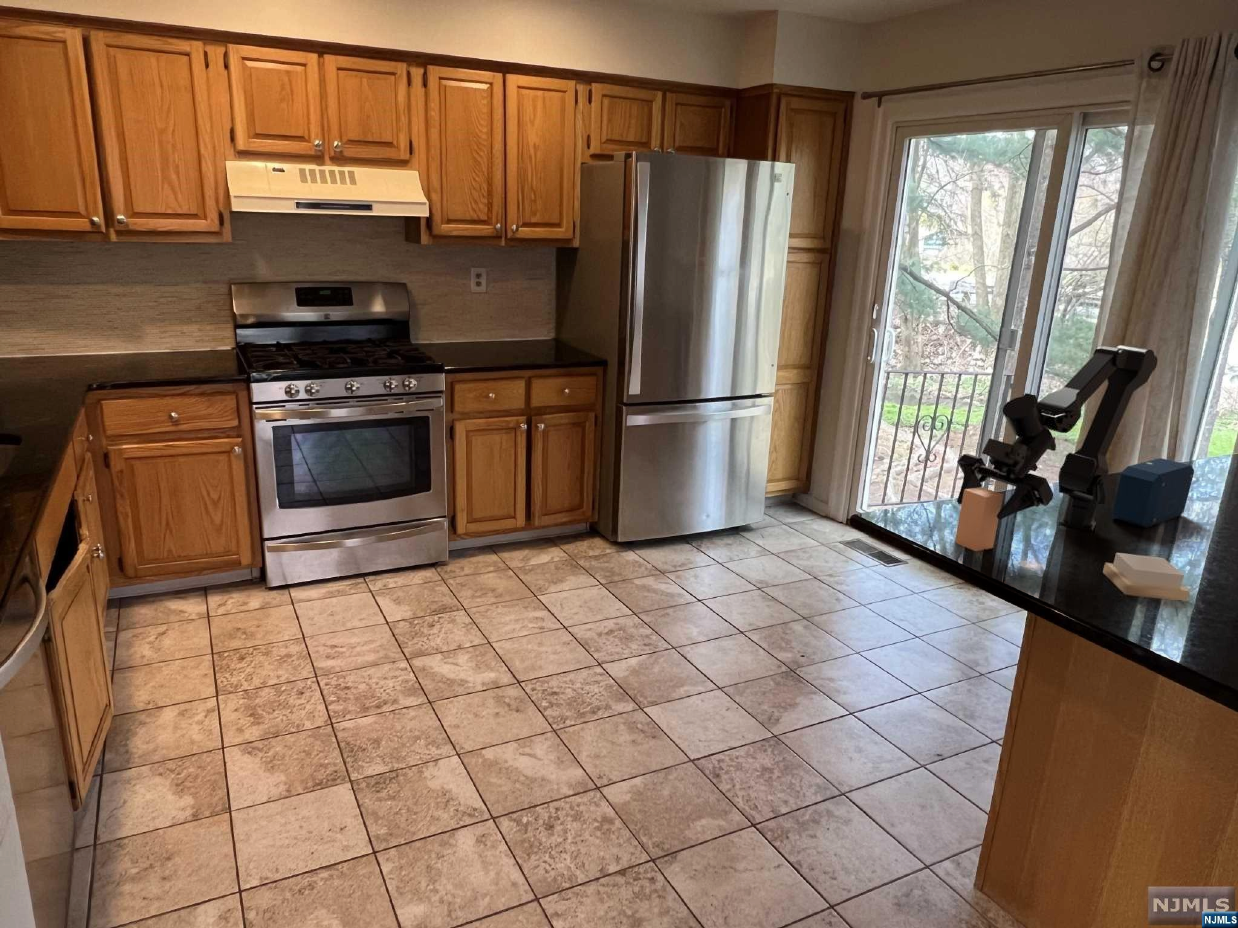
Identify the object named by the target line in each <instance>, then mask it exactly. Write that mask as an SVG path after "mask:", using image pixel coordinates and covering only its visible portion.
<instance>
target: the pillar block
mask: <svg viewBox="0 0 1238 928" xmlns="http://www.w3.org/2000/svg"><path fill="white" fill-rule="evenodd" d="M1003 498H1004V494H1003V493H1000V492H997V491H994V490H992V489H989V488H986V487H983V486H982V487H978V488H971V489H964V494H963V499H962V504H960V505H961V506H960V511H959V512H960V513H959V517H958V523H957V527H956V533H955V539H954V543H955V544H958V545H960V546H962V547H965V548H967V549H969V550H972V551H973V552H974V551H975V552H979V551H985V550H990V549H993V548H994V545H995V540H996V533H997V528H998V523H999V519H998V518H997V514H998V513H999V511H1000V510H1001V508H1002V503H1003ZM984 549H985V550H984Z"/></svg>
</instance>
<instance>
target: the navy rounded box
mask: <svg viewBox="0 0 1238 928" xmlns="http://www.w3.org/2000/svg"><path fill="white" fill-rule="evenodd" d="M1179 432H1180V429H1177V433H1176V437H1175V440H1174V441H1175V442H1174V444H1173V449H1172V452H1171V456H1170V459H1165V458H1161V457H1158V458H1155V459H1152V460H1147V461H1144V462H1140V463H1135V464H1131V465H1128V466H1126V467H1125V468H1124V469H1123V470H1121V475H1120V477H1119V482H1118V486H1117V491H1116V496H1115V500H1114V503H1113V506H1112V507H1113V508H1112V512H1111V516H1112V517H1113V518H1114V519H1115V520H1117V519H1118V521H1121V520H1122V522H1124V521H1125V523H1129V524H1131V523H1132V524H1131V525H1134V524H1135V525H1134V526H1138V525H1139V526H1138V527H1141V526H1142V527H1141V528H1144V527H1145V528H1144V529H1147V528H1150V527H1153V526H1156V525H1158V523H1159V524H1161V523H1164V522H1167V521H1169V520H1172V519H1175V518H1178V517H1179V516H1181V515H1182V514H1184V512H1185V509H1186V505H1187V500H1188V498H1189V493H1190V489H1191V486H1192V483H1193V477H1194V475H1195V469H1194V468H1193V466H1192V465H1191V464H1186V463H1182V462H1178V461H1174V460H1173V457H1174V451H1175V449H1176V444H1177V440H1178V435H1179ZM1166 520H1167V521H1166ZM1155 524H1156V525H1155ZM1152 525H1153V526H1152ZM1149 526H1150V527H1149Z"/></svg>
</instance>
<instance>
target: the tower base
mask: <svg viewBox="0 0 1238 928" xmlns="http://www.w3.org/2000/svg"><path fill="white" fill-rule="evenodd" d="M1113 564H1114V562H1113V563H1112V562H1105V563H1104V566H1103V570H1102V573H1103V574H1104V575H1105V576H1106V578H1107V579H1109V580H1110V581H1111V583H1113V584H1114V585H1115V586H1116V587H1117V588H1118V589H1119V590H1120V591H1121V592H1122V593H1123V594H1124V595H1126V596H1133V597H1134V596H1135V597H1142V598H1153V599H1162V600H1171V601H1177V600H1182V601H1181V602H1186V601H1187V602H1188V601H1189V600H1188V598H1189V596H1190V590H1189V589H1188V588H1186V587H1185V586H1184V585H1183V584H1182V585H1181V588H1172V587H1163V586H1155V585H1147V584H1138V583H1131V582H1130V581H1129V580H1128V579H1127V578H1126V577H1125V576H1124V575H1123V574H1122V573H1121V572H1120V571H1118V570H1117V569H1116V568H1115V567H1114V566H1113Z"/></svg>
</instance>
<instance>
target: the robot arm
mask: <svg viewBox="0 0 1238 928" xmlns="http://www.w3.org/2000/svg"><path fill="white" fill-rule="evenodd" d="M1092 355H1093V356H1091V358H1089V360H1088V361H1087V362H1086V363H1085V364H1084V365H1083V366H1082V367H1081V368H1080V369H1079V370H1078V371H1077V372H1076V374H1075V375H1073V377H1071V379H1070V380H1069V381H1068V382H1067V383H1066V384H1065V385H1064V386H1063V387H1062V388H1061V389H1059V390H1057V391H1054V392H1051V393H1048V394H1047V395H1045V396H1043V398H1041V399H1040V400H1039V401H1038V398H1037V396H1036V394H1033V393H1028V392H1026V393H1024V394H1023V395H1022V396H1019V397H1013V399H1010V400H1009V401H1007V402H1005V403H1004V406H1003V408H1002V413H1003V415H1004V418H1005V420H1006V422H1007V423H1008V426H1009V428H1010V430H1011V431H1012V433H1013V435H1014V436H1017V438H1016V439H1015V440H1014V441H1013V442H1012V443H1007V442H1005V441H1001V440H997V439H994V438H988V439H987V442H986V444H985V446H984V447H983V450H982V452H981V453H982V454H983V455H985V456H987V457H989V458H990V459H989V463H990V464H991V465H993V467H990V466H987V465H986V463H985V461H984V460H983V458H982V457H980V456H977V455H973V454H970V453H963V454H962V455H961V456H960V457H959V458H958V460H957V461H956V462H957V464H958V466H959V467H960V470H961V471H962V474H963V480H962V484H961V487H960V489H959V493H958V496H957V500H956V502H957V504H958V505H962V499H963V494H964V489H971V488H978V487H983V485H982V483H984V482H986V480H987V479H992V480H993V481H994V480H995V481H998V482H1001V483H1004V484H1006V485H1010V486H1012V487H1015V488H1014V492H1013V494H1012V495H1011V496H1010V497H1009V499H1007V501H1006V502H1005V503H1004V505H1003V506H1001V509H1000V511H999V513H998V514H997V518H998V521H1000V520H1003V519H1005V518H1007V517H1010V516H1012V515H1014V514H1017V513H1018V512H1022V511H1024V510H1028V509H1029V508H1033V507H1037V508H1039V507H1040V505H1041V506H1045V507H1047V506H1048V505H1049V504H1050V503H1051V501H1052V500H1053V499H1054V492H1053V490H1052V488H1051V486H1050V484H1049V482H1048V480H1047V478H1046V477H1043V476H1040V475H1036V474H1033V473H1031V471H1032V472H1036V471H1037V470H1038V465H1037V463H1038V462H1039V460H1040V459H1041V458H1042V456H1043V455H1044V454H1045V453H1046V451H1048V450H1049V451H1052V452H1055V451H1056V449H1057V444H1056V436H1053V434H1052V432H1057V433H1059V434H1067V433H1069V432H1070V431H1071V430H1072V429H1074V427H1075V426H1076V425H1077V422H1078V421H1079V420H1080V418H1081V417H1082V407H1083V405H1085V403H1086V402H1087V401H1088V400H1089V399H1090V398H1091V397H1092V395H1094V393H1096V391H1097V390H1098V389H1099V388H1100V387H1101V386H1102V385H1103V384H1104V383H1105V382H1106V381H1107V386H1106V389H1105V390H1104V392H1103V395H1102V397H1101V400H1100V402H1099V405H1098V406H1097V410H1096V412H1095V414H1094V416H1093V418H1092V421H1091V423H1090V425H1089V427H1088V431H1087V432H1086V435H1085V438H1084V440H1083V443H1082V445H1081V447H1080V448H1079V449H1077V450H1076V451H1075V452H1074V453H1072V452H1068V453H1067V454H1066V456H1065V458H1064V461H1063V464H1062V465H1061V467H1060V469H1059V472H1058V477H1057V478H1058V493H1060V494H1064V495H1066V496H1067V500H1066V503H1065V508H1064V512H1063V513H1064V514H1062V516H1061V517H1060V519H1059V521H1058V524H1059V525H1062V526H1065V527H1071V528H1075V529H1081V530H1083V531H1089V532H1092V531H1094V528H1095V526H1096V523H1097V522H1096V521H1095V520H1094V519H1095V515H1096V511H1097V506H1098V505H1107V503H1108V502H1109V501H1110V499H1111V496H1112V494H1113V492H1112V490H1111V487H1110V485H1109V483H1108V481H1107V477H1108V474H1109V471H1110V469H1109V467H1108V462H1107V457H1106V456H1107V454H1108V452H1109V449H1110V448H1111V445H1112V442H1113V440H1114V438H1115V436H1116V434H1117V432H1118V428H1119V426H1120V424H1121V421H1122V419H1123V418H1124V417H1123V416H1124V415H1125V412H1126V410H1127V407H1128V405H1129V403H1130V400H1131V399H1132V395H1133V393H1134V392H1135V391H1137V390H1138V389H1139V388H1141V387H1142V386H1143V385H1145V384H1147V382H1148V381H1149V379H1150V377H1151V375H1152V373H1153V372H1155V370H1156V368H1157V366H1158V357H1157V356H1156V355H1155V351H1153V349H1149V348H1143V347H1137V346H1131V345H1130V346H1129V345H1125V344H1120V345H1118V346H1116V347H1113V346H1108V345H1103V346H1098V347H1096V349H1095V350H1094V352H1093V354H1092ZM1051 431H1052V432H1051Z"/></svg>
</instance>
